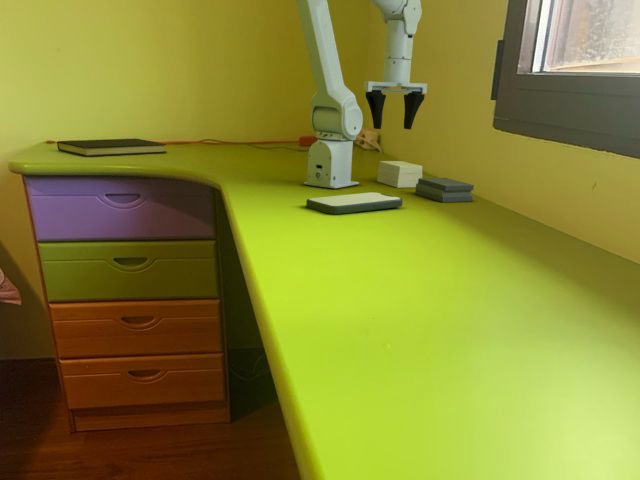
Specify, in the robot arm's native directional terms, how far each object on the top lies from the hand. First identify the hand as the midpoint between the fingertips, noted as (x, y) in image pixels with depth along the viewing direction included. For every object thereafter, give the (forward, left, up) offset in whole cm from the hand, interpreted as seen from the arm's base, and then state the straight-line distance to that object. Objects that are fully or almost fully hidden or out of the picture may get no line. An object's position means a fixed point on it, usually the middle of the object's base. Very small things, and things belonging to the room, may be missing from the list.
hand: (392, 129), depth 152 cm
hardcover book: (-15, +76, -11) cm, 78 cm away
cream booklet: (-6, -6, -8) cm, 11 cm away
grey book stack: (-15, -21, -10) cm, 28 cm away
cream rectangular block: (-6, -6, -10) cm, 13 cm away
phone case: (-38, -15, -11) cm, 42 cm away
